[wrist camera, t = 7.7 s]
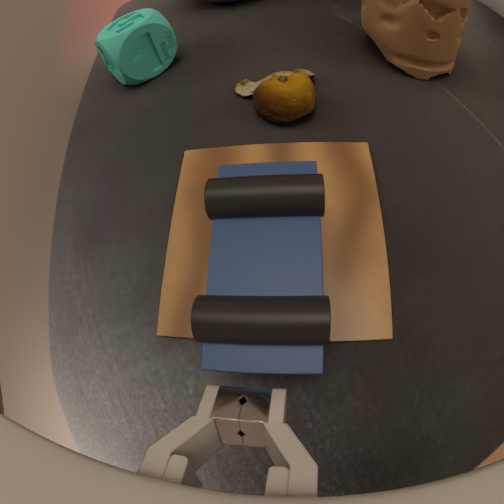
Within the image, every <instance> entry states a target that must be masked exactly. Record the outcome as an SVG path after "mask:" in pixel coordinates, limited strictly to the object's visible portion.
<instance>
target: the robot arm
mask: <svg viewBox="0 0 504 504" xmlns="http://www.w3.org/2000/svg"><path fill="white" fill-rule="evenodd" d="M286 411H287V390H286V389H275V388H247V387H246V388H242V387H231V386H220V385H210V384H208V385H207V386H206V387H205V390H204V393H203V396H202V399H201V402H200V405H199V408H198V411H197V414H196V416H191V417H190V418H189V419H187V420H186V421H184V422H183V423H182V424H180V425H179V426H178V427H176V428H175V429H174V430H172V431H171V432H169V433H168V434H167V435H165V436H164V437H162V438H161V439H159V440H158V441H157V442H155V443H154V444H152V445H151V446H149V447H148V449H147V451H146V453H145V456H144V458H143V460H142V463H141V465H140V467H139V470H138V472H137V473H134V472H131V471H128V470H125V469H121V468H118V467H115V466H112V465H109V464H107V463H104V462H101V461H98V460H96V459H93V458H90V457H88V456H85V455H83V454H80V453H78V452H75V451H73V450H70V449H68V448H66V447H64V446H61V445H59V444H57V443H55V442H53V441H51V440H49V439H47V438H44V437H43V436H40V435H38V434H37V433H35V432H32V431H31V430H29V429H27V428H25V427H23V426H22V425H20V424H18V423H16V422H15V421H13V420H11V419H9V418H8V417H6V416H4V415H3V414H1V413H0V504H504V459H502V460H500V461H497V462H495V463H492V464H489V465H486V466H484V467H481V468H478V469H475V470H472V471H469V472H466V473H462V474H459V475H456V476H452V477H449V478H445V479H441V480H437V481H433V482H429V483H424V484H420V485H415V486H410V487H405V488H399V489H393V490H387V491H380V492H372V493H364V494H354V495H341V496H320V497H317V490H318V465H317V464H316V462H315V461H314V460H313V458H312V457H311V456H310V454H309V453H308V451H307V450H306V449H305V447H304V446H303V445H302V443H301V442H300V440H299V439H298V438H297V436H296V435H295V433H294V432H293V431H292V429H291V428H290V426H289V425H288V423H286ZM222 444H225V445H238V446H250V447H261V448H266V450H267V452H268V454H269V456H270V457H271V459H272V461H273V463H274V465H275V466H272V467H271V468H269V469H268V475H267V482H266V488H265V494H264V495H251V494H240V493H231V492H224V491H216V490H210V489H204V488H202V484H201V482H200V480H199V478H198V477H197V475H196V473H195V471H196V470H197V469H198V468H199V467H200V466H201V465H202V464H203V463H204V462H206V461H207V460H208V459H209V458H210V457H211V456H212V455H213V454H214V453H215V452H216V451H217V450H218V449H219V448H220V447H221V446H222Z"/></svg>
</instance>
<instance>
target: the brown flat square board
mask: <svg viewBox="0 0 504 504" xmlns="http://www.w3.org/2000/svg"><path fill="white" fill-rule="evenodd" d="M288 161H316V162H317V173H318V174H323V178H324V187H325V214H324V217H321V232H322V254H323V287H324V295H328V296H329V298H330V307H331V331H330V341H329V342H344V341H368V340H385V339H393V333H392V310H391V295H390V282H389V271H388V261H387V252H386V244H385V236H384V229H383V222H382V215H381V209H380V203H379V197H378V191H377V186H376V180H375V175H374V170H373V165H372V160H371V156H370V151H369V147H368V143H364V142H298V143H272V144H254V145H240V146H227V147H216V148H206V149H197V150H188V151H185V154H184V158H183V163H182V168H181V173H180V178H179V183H178V188H177V194H176V199H175V205H174V210H173V216H172V222H171V228H170V234H169V241H168V247H167V254H166V261H165V268H164V276H163V283H162V292H161V300H160V309H159V319H158V329H157V336H166V337H177V338H190V339H194V338H193V335H192V331H191V309H192V305H193V301H194V299H195V298H196V296H198V295H206V285H207V273H208V262H209V251H210V241H211V231H212V221H213V220H210V219H209V218H208V216H207V214H206V210H205V204H204V189H205V184H206V181H207V180H208V179H209V178H217V176H218V168H219V165H231V164H246V163H264V162H288Z"/></svg>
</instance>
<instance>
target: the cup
mask: <svg viewBox="0 0 504 504" xmlns="http://www.w3.org/2000/svg"><path fill="white" fill-rule="evenodd" d="M206 1H210V2H232V1H237V0H206Z"/></svg>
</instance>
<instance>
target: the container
mask: <svg viewBox="0 0 504 504" xmlns="http://www.w3.org/2000/svg"><path fill="white" fill-rule="evenodd" d="M471 1H472V0H362V7H361V20H362V27H363V28H364V30H365V31H366V33H367V34H368V35H369V36H370V38H371V39H372V40H373V41H374V42H375V44H376V45H377V46H378V48H379V49H380V51H381V52H382V54H383V55H384V57H385V58H386V60H387V61H388V62H390V63H392V64H394V65H395V66H397V67H398V68H400V69H402V70H404V71H405V72H406V73H407V74H410V75H412V76H414V77H415V78H416V79H425V80H429V78H430V77H434V76H436V75H439V74H444V73H447V74H448V75H450V74H451V72H452V70H453V67H454V62H455V58H456V56H457V54H458V50H459V47H460V44H461V40H462V36H463V33H464V29H465V25H466V21H467V17H468V11H469V6H470V5H471Z"/></svg>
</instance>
